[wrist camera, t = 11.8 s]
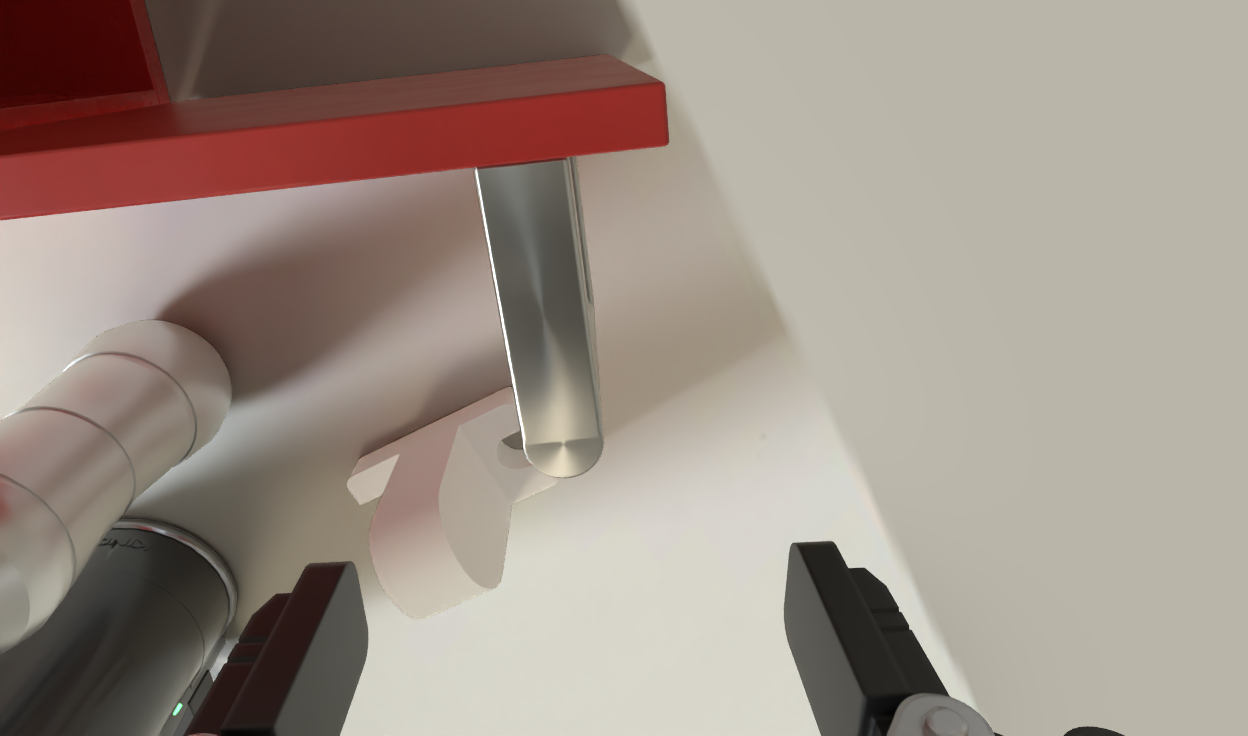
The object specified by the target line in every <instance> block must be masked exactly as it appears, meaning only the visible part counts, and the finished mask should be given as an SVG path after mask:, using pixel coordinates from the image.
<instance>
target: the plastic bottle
mask: <svg viewBox="0 0 1248 736" xmlns="http://www.w3.org/2000/svg"><path fill="white" fill-rule="evenodd" d="M231 399H232V383H231V380H230V376H229V372H228V370H227V368H226V366H225V364H224V362H223V360H222V358H221V357H220V355H219V354H218V353H217V351H216V350H215V349H214V348H213V347H212V346H211V345H210V344H209V343H208V342H207V341H206V340H205V339H203V338H202V337H201V336H199V335H198V334H196V333H194V332H192V331H190V330H188V329H186V328H184V327H182V326H180V325H177V324H173V323H170V322H167V321H159V320H140V321H136V322H132V323H128V324H125V325H122V326H119V327H116V328H113V329H110V330H108V331H106V332H104V333H102V334H100V335H98V336H96V337H95V338H94V339H93V340H92V341H91V342H89V343H88V344H87V345H86V346H85V347H84V348H83V349H82V350H81V351H80V352H79V353H78V354H77V355H76V356H75V357H74V358H73V359H72V360H71V361H70V362H69V364H68V365H67V366H66V368H65V369H64V370H63V372H62V373H61V374H60V375H59V376H58V377H57V378H56V379H54V380H53V381H52V382H51V383H50V384H49V385H47V386H46V387H45V388H44V389H43V390H42V391H40V392H39V393H38V394H37V395H36V396H34V397H33V398H32V399H31V400H30V401H29V402H27V403H26V404H25V405H24V406H22V407H20V408H18V409H17V410H15V411H13V412H12V413H10V414H8V415H7V416H5V417H4V418H3V419H1V420H0V654H2V653H4V652H6V651H7V650H9V649H11V648H12V647H14V646H15V645H17V644H18V643H20V642H22V641H23V640H25V639H26V638H28V637H30V636H31V635H32V634H34V633H35V632H36V631H37V630H39V629H40V628H41V627H42V626H43V625H44V624H45V622H46V621H47V620H48V619H49V617H50V616H51V615H52V613H53V612H54V611H55V610H56V608H57V607H58V606H59V604H60V603H61V602H62V601H63V599H64V598H65V597H66V595H67V592H68V591H69V590H70V589H71V587H72V586H73V584H74V582H75V581H76V579H77V578H78V576H79V575H80V573H81V572H82V570H83V569H84V567H85V565H86V564H87V562H88V561H89V559H90V558H91V556H92V555H93V553H94V552H95V550H96V548H97V547H98V545H99V544H100V542H101V541H102V539H103V538H104V537H105V536H106V535H107V533H108V532H109V531H110V530H111V529H112V527H113V526H114V525H115V524H116V523H117V521H118V520H119V519H120V517H121V516H122V515H123V514H124V513H125V512H126V510H127V509H128V508H129V507H130V506H131V504H132V503H133V502H134V501H135V499H136V498H137V497H139V496H140V495H141V494H142V493H143V492H144V491H145V490H147V489H148V488H149V487H150V486H151V485H152V484H154V483H155V482H156V481H157V480H158V479H159V478H161V477H162V476H163V475H164V474H165V473H166V472H168V471H169V470H170V469H171V468H172V467H174V466H176V465H178V464H180V463H181V462H183V461H185V460H187V459H188V458H189V457H190V456H192V455H193V454H194V453H196V452H197V451H198V450H200V449H201V448H202V447H203V446H205V445H206V444H207V443H208V442H210V441H211V440H212V439H213V437H214V436H215V435H216V434H217V432H218V431H219V429H220V427H221V425H222V423H223V421H224V419H225V417H226V415H227V412H228V410H229V408H230V405H231Z"/></svg>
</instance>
